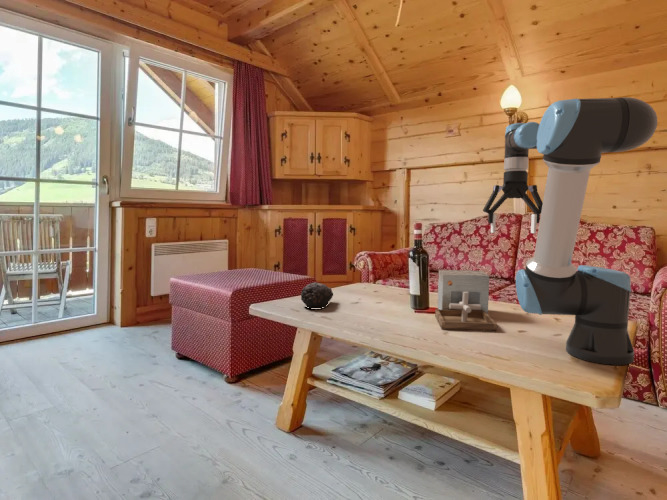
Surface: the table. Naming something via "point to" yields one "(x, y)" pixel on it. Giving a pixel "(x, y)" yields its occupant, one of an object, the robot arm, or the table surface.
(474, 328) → the tray
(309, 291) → the black oval piece
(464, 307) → the pipe connector
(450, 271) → the box
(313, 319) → the table surface
